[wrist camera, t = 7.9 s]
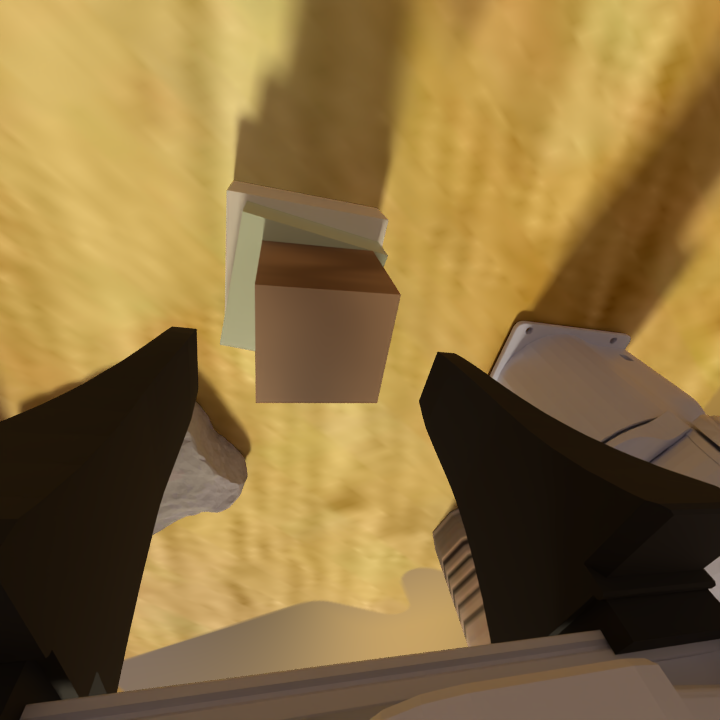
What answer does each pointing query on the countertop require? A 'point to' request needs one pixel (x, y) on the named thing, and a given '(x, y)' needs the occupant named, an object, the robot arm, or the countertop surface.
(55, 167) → the countertop surface
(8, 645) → the robot arm
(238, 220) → the grey base block
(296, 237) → the sage top block
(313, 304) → the walnut block
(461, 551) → the can
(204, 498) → the stone block
